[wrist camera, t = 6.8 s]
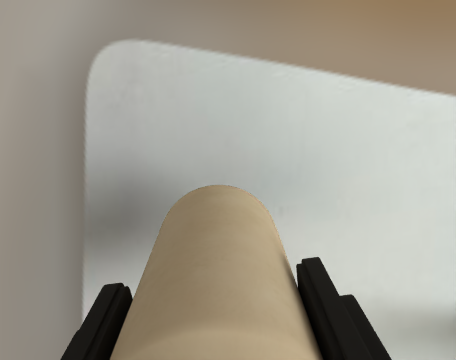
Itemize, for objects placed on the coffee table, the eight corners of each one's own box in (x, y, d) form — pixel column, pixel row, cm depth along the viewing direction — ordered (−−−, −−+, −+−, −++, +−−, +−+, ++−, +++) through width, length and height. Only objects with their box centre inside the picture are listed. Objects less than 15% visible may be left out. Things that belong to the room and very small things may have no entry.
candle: (188, 163, 14) (120, 359, 4) (296, 211, 15) (430, 459, 5) (145, 260, 15) (25, 556, 6) (244, 298, 16) (276, 608, 7)
